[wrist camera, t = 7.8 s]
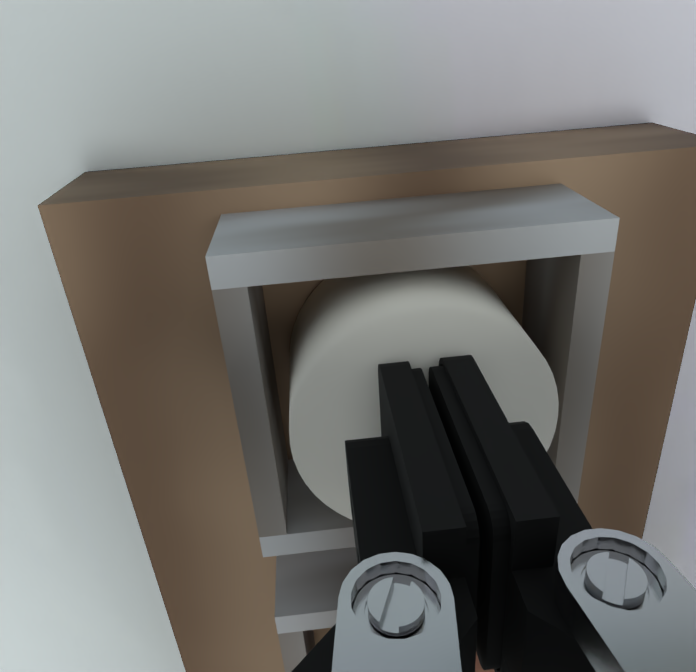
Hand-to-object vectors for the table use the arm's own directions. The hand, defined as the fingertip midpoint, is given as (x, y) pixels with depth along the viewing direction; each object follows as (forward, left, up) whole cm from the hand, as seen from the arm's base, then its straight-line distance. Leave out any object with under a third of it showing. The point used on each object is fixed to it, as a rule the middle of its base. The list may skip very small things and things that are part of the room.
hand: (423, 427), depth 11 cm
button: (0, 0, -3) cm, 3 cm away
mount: (0, +9, -6) cm, 11 cm away
